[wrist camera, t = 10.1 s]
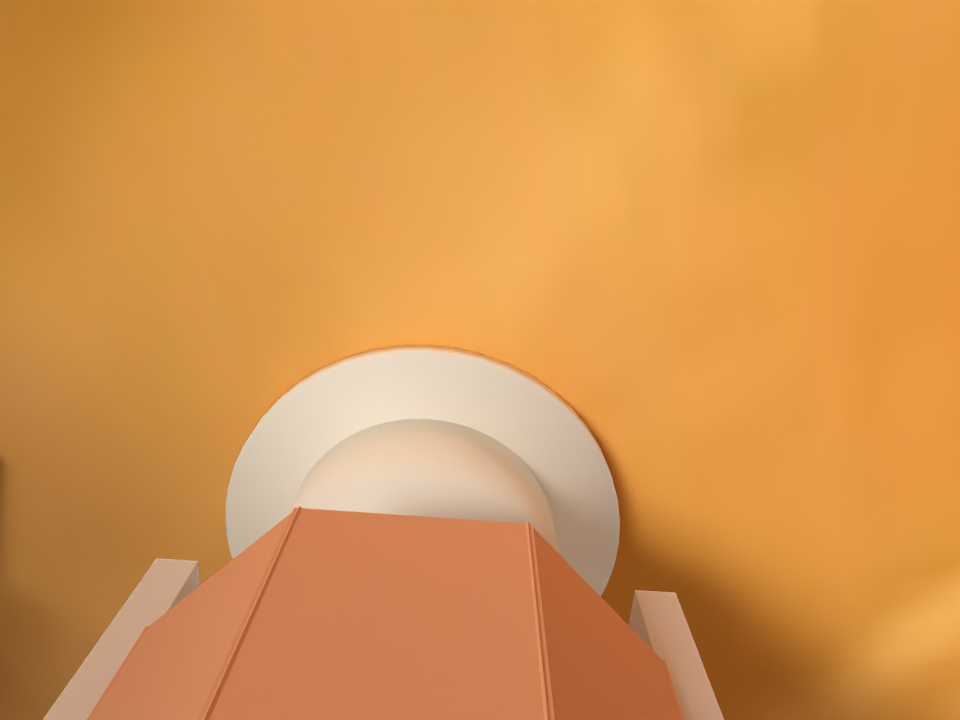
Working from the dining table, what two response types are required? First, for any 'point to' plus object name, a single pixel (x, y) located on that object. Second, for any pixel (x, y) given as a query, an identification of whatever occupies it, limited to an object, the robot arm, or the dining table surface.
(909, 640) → the dining table surface
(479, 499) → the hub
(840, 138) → the dining table surface
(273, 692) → the collar
